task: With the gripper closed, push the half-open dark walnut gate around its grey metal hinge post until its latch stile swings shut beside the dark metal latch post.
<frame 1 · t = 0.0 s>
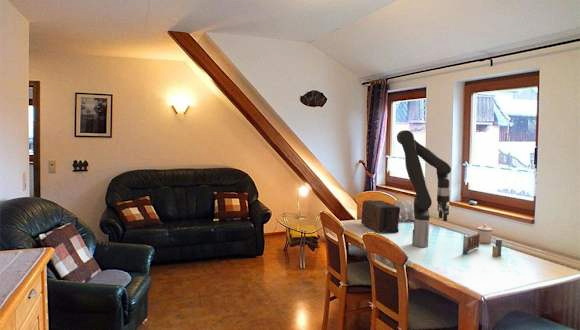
hand: (442, 219, 264), 17 cm above the table, tool pointing down, fingers open, 8 cm apart
latch post: (497, 255, 248), on the table
decorative box: (379, 229, 309), on the table
walnut gate: (472, 242, 255), point 6 cm above the table, hinge at 45.0°
teacup with lid: (482, 241, 280), on the table
hinge post: (464, 253, 249), on the table
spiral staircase: (407, 221, 339), on the table
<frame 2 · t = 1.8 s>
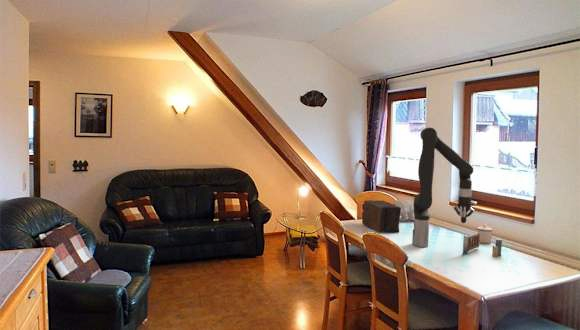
hand: (463, 222, 261), 16 cm above the table, tool pointing down, fingers closed
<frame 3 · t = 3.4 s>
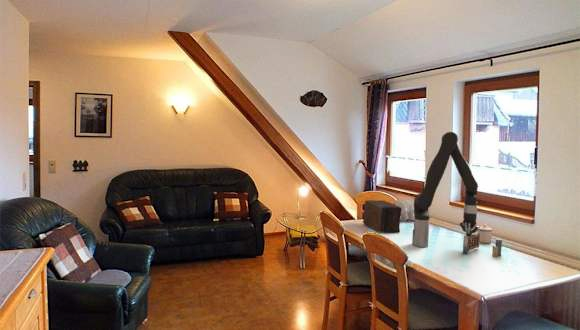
hand: (468, 239, 259), 6 cm above the table, tool pointing down, fingers closed
walnut gate: (472, 242, 255), point 6 cm above the table, hinge at 44.9°, touching gripper
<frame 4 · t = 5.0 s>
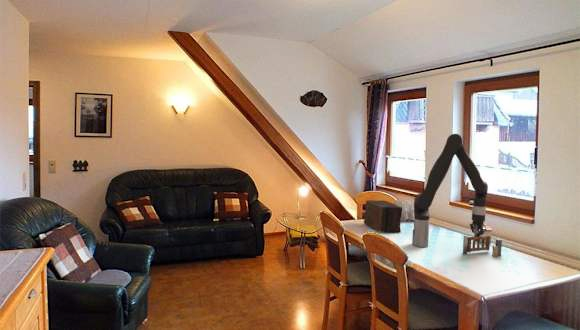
hand: (476, 240, 256), 6 cm above the table, tool pointing down, fingers closed
walnut gate: (478, 243, 252), point 6 cm above the table, hinge at 21.7°, touching gripper
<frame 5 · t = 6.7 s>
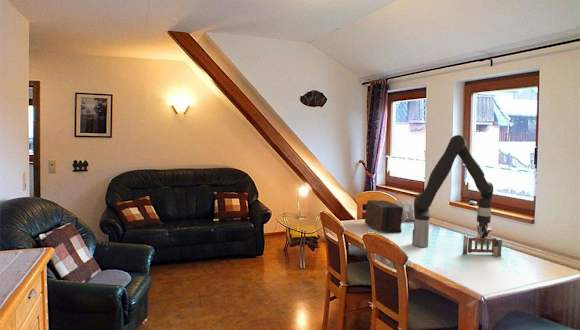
hand: (482, 242, 252), 6 cm above the table, tool pointing down, fingers closed
walnut gate: (481, 245, 249), point 6 cm above the table, hinge at 2.3°
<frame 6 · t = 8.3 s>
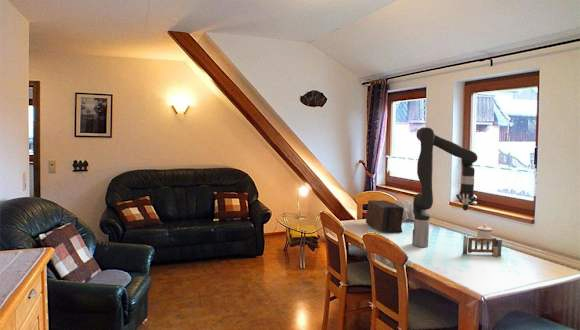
hand: (465, 210, 263), 24 cm above the table, tool pointing down, fingers closed
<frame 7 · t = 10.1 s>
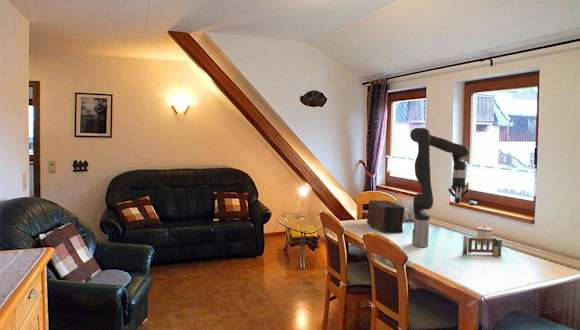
hand: (457, 203, 269), 27 cm above the table, tool pointing down, fingers closed
at the end: walnut gate at +2° (first picture: +45°); teacup with lid moved 0.2 cm from its start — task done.
